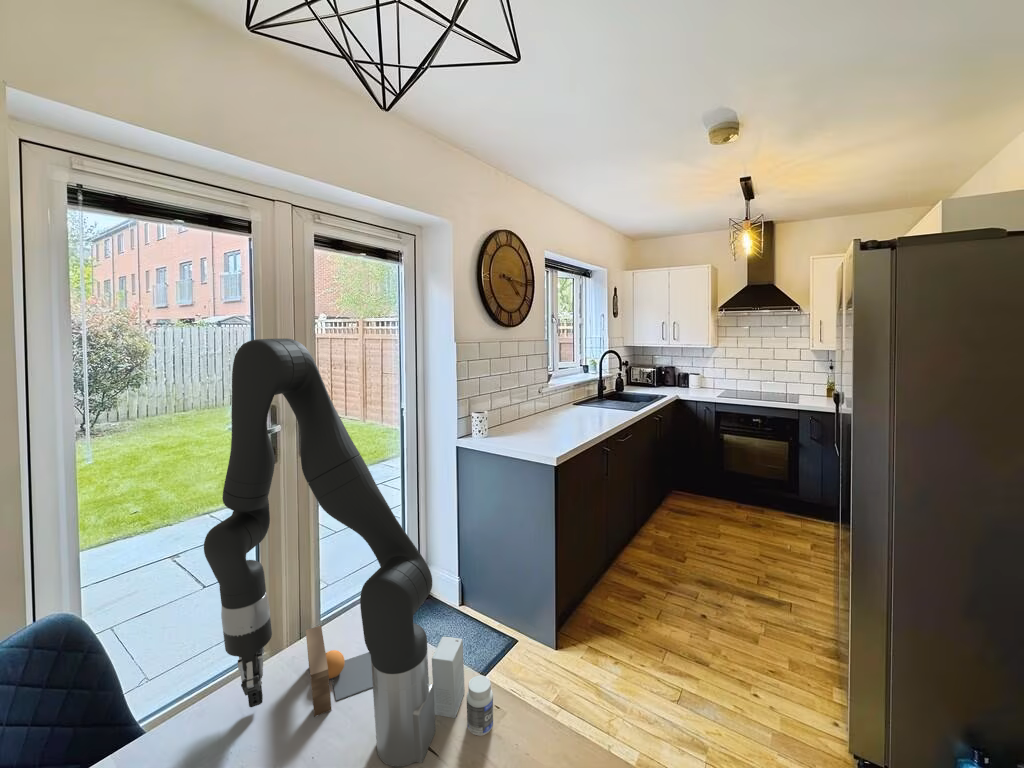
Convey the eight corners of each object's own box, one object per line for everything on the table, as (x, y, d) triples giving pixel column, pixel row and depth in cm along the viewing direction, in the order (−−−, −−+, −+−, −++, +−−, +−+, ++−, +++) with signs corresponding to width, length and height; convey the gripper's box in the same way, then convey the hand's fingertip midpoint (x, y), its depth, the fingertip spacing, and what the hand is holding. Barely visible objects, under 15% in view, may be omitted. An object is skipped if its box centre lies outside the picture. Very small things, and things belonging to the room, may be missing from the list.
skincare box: (444, 689, 91) (442, 635, 89) (465, 692, 90) (463, 638, 88) (433, 715, 85) (430, 658, 83) (455, 719, 84) (453, 661, 82)
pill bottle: (489, 738, 80) (489, 696, 79) (464, 734, 81) (462, 692, 80) (496, 715, 85) (495, 675, 84) (471, 711, 86) (470, 671, 85)
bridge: (314, 716, 85) (310, 675, 84) (309, 667, 97) (305, 630, 96) (331, 710, 86) (328, 669, 85) (324, 662, 98) (321, 625, 97)
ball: (349, 668, 97) (349, 647, 96) (335, 687, 92) (335, 665, 91) (328, 663, 98) (327, 642, 97) (313, 681, 93) (313, 659, 92)
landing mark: (336, 701, 88) (335, 700, 88) (330, 666, 97) (330, 665, 97) (388, 681, 93) (388, 680, 93) (378, 649, 102) (378, 649, 102)
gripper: (269, 635, 80) (278, 722, 82) (270, 594, 91) (278, 671, 94) (218, 650, 76) (230, 740, 79) (225, 605, 88) (235, 685, 91)
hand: (256, 702), depth 86 cm, fingers closed
